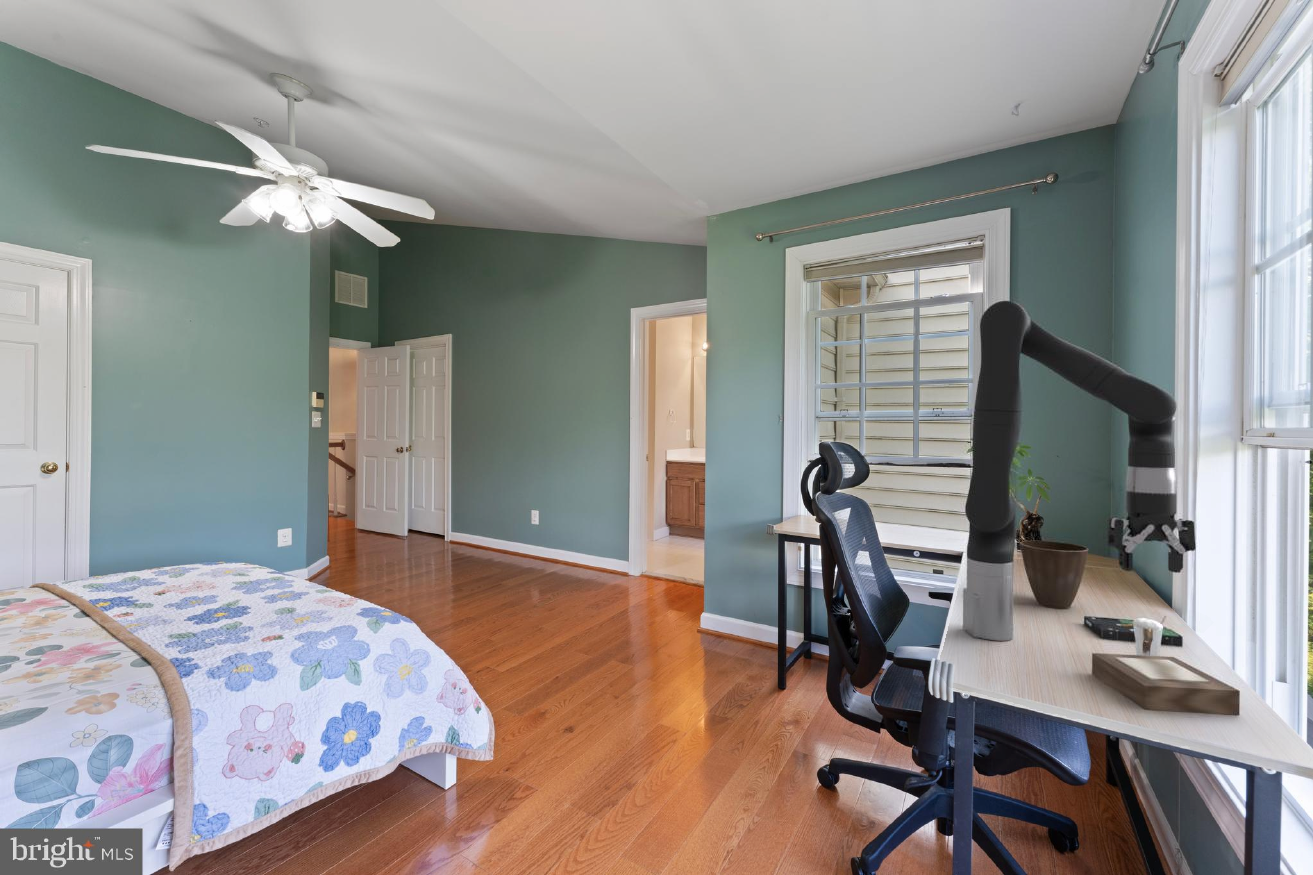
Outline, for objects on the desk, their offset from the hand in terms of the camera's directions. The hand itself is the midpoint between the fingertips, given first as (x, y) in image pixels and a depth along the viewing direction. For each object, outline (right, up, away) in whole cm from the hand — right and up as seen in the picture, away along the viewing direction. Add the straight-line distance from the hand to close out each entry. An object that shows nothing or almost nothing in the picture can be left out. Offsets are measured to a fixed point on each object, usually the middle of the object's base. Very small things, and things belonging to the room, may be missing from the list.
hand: (1150, 571), depth 112 cm
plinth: (-9, -19, -12) cm, 24 cm away
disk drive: (+10, -19, +17) cm, 28 cm away
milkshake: (0, -19, 0) cm, 19 cm away
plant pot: (+8, -19, +39) cm, 44 cm away
